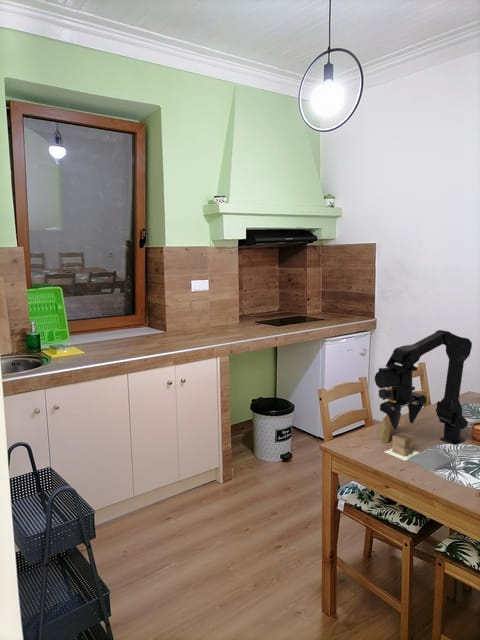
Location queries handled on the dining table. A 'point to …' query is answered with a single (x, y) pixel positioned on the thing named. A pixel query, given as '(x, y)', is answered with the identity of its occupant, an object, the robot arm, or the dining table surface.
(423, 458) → the slate board
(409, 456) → the pale cream tile
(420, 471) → the dining table surface
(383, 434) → the rock
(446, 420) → the robot arm
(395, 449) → the block
